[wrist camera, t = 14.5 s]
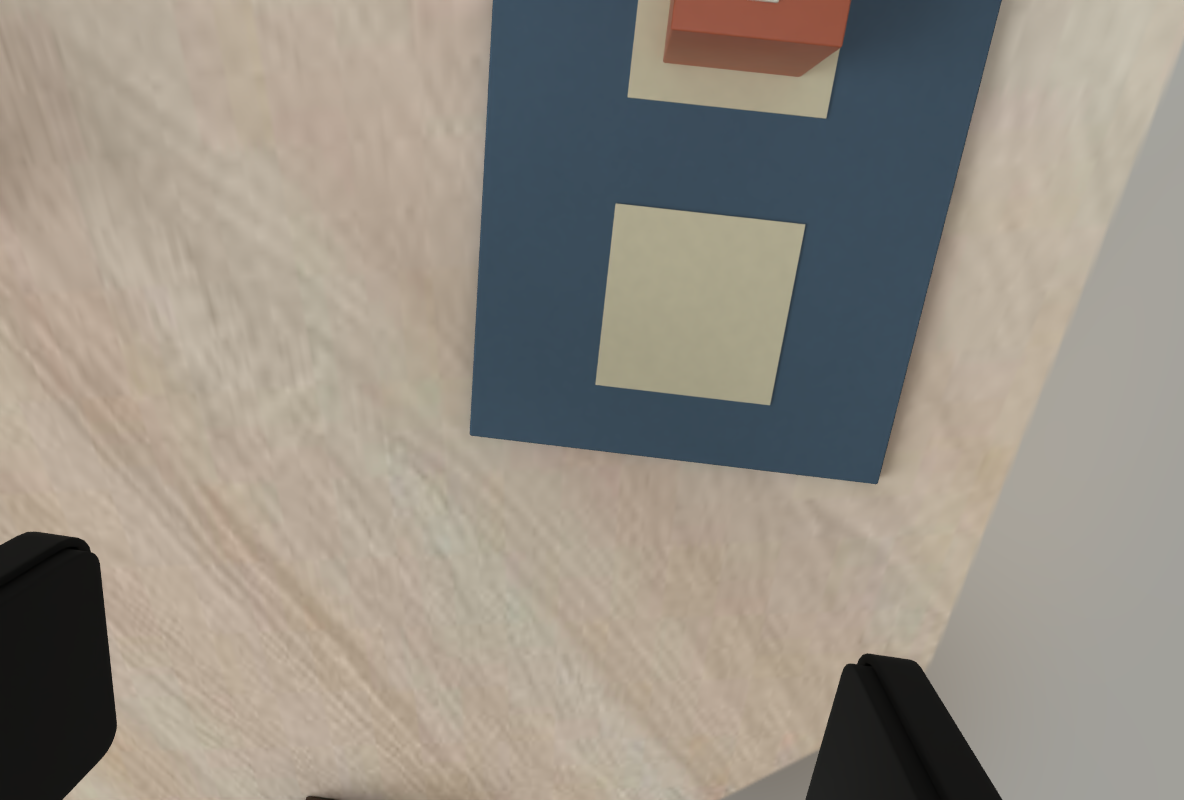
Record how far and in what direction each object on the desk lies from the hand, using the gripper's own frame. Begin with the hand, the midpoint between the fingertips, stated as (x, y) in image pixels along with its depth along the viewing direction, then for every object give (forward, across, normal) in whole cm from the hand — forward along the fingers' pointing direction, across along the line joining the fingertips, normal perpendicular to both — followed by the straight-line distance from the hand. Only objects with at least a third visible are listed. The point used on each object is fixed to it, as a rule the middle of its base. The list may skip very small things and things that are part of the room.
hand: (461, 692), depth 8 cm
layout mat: (+18, -4, -8) cm, 20 cm away
